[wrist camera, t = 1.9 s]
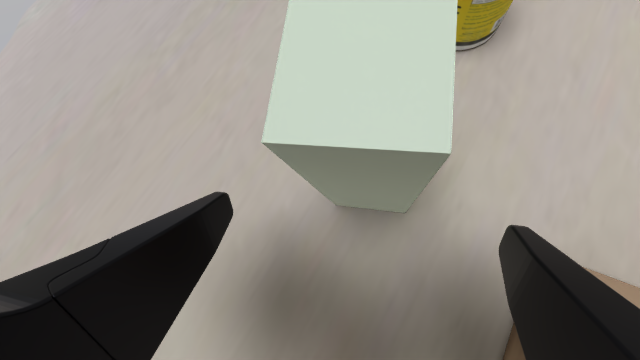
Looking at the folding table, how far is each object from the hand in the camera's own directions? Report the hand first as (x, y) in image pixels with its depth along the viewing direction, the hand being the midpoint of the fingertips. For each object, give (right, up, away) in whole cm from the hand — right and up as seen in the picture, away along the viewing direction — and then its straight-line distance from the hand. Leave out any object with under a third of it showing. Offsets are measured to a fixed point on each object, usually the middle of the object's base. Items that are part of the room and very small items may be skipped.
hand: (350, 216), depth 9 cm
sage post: (+3, +2, +11) cm, 12 cm away
